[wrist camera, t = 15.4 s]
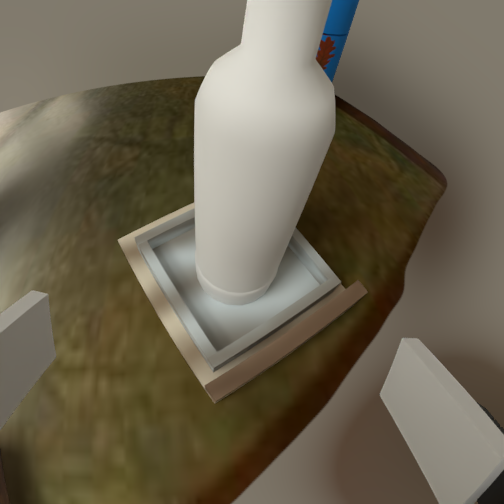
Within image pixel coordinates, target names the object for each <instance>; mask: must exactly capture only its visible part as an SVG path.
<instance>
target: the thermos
mask: <svg viewBox="0 0 504 504" xmlns="http://www.w3.org/2000/svg"><path fill="white" fill-rule="evenodd" d="M358 2H359V0H332V3H331V6H330V10H329V13H328V17H327V20H326V24H325V27H324V31H323V34H322V38H321V41H320V45H319V48H318V52H317V55H316V61H317V62H318V63H319V65H320V66H321V68H322V69H323V71H324V72H325V73H326V75H327V76H328V78H329V79H330V81H331V82H332V81H333V78H334V75H335V72H336V69H337V66H338V63H339V60H340V57H341V54H342V51H343V48H344V45H345V42H346V39H347V36H348V33H349V30H350V27H351V23H352V21H353V17H354V14H355V11H356V8H357V5H358Z"/></svg>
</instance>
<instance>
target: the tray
mask: <svg viewBox="0 0 504 504" xmlns="http://www.w3.org/2000/svg"><path fill="white" fill-rule="evenodd" d="M118 242H119V244H120V246H121V248H122V250H123V252H124V254H125V256H126V258H127V260H128V262H129V264H130V266H131V268H132V270H133V271H134V273H135V275H136V277H137V279H138V281H139V283H140V284H141V286H142V288H143V290H144V292H145V293H146V295H147V297H148V299H149V300H150V302H151V304H152V306H153V307H154V309H155V311H156V313H157V314H158V316H159V318H160V319H161V321H162V323H163V325H164V326H165V328H166V330H167V331H168V333H169V334H170V336H171V338H172V339H173V341H174V343H175V344H176V346H177V347H178V349H179V351H180V352H181V354H182V355H183V357H184V359H185V360H186V362H187V363H188V365H189V366H190V368H191V369H192V371H193V372H194V374H195V375H196V377H197V378H198V380H199V381H200V383H201V384H202V386H203V387H204V389H205V390H206V392H207V393H208V395H209V396H210V398H211V399H212V400H213V402H214V403H216V402H218V401H220V400H221V399H223V398H224V397H226V396H228V395H229V394H231V393H232V392H234V391H235V390H237V389H239V388H240V387H242V386H243V385H245V384H246V383H248V382H249V381H251V380H252V379H254V378H255V377H257V376H258V375H260V374H261V373H263V372H264V371H266V370H267V369H269V368H270V367H272V366H273V365H274V364H276V363H277V362H279V361H280V360H282V359H283V358H284V357H286V356H287V355H289V354H290V353H291V352H293V351H294V350H296V349H297V348H298V347H300V346H301V345H302V344H304V343H305V342H307V341H308V340H309V339H311V338H312V337H313V336H315V335H316V334H317V333H319V332H320V331H321V330H323V329H324V328H325V327H327V326H328V325H329V324H330V323H332V322H333V321H334V320H336V319H337V318H338V317H339V316H341V315H342V314H343V313H345V312H346V311H347V310H348V309H350V308H351V307H352V306H353V305H354V304H355V303H357V302H358V301H359V300H360V299H361V298H362V297H363V296H364V295H365V294H366V293H367V292H368V291H367V290H366V289H365V287H364V286H363V285H362V284H361V283H360V281H359V280H357V281H356V282H355V283H353V284H352V285H351V286H350V287H348V288H347V289H345V288H344V287H343V286H342V285H341V281H340V280H339V279H338V277H337V276H336V275H335V274H334V272H333V271H332V270H331V269H330V268H329V266H328V265H327V264H326V263H325V262H324V260H323V259H322V258H321V257H320V256H319V254H318V253H317V252H316V251H315V250H314V248H313V247H312V246H311V245H310V244H309V242H308V241H307V240H306V239H305V238H304V236H303V235H302V234H301V233H300V232H299V231H298V229H297V228H296V227H295V229H294V232H293V234H292V236H291V239H290V241H289V243H288V246H287V248H286V250H285V253H284V255H283V257H282V260H281V262H280V264H279V266H278V270H277V274H276V276H275V278H274V280H273V281H272V283H271V284H270V286H269V288H268V289H267V291H266V292H265V294H264V295H262V296H261V297H260V298H258V299H257V300H255V301H254V302H251V303H248V304H244V305H226V304H224V303H221V302H219V301H217V300H214V299H213V298H212V297H210V296H209V295H208V294H207V293H206V292H205V291H204V290H203V288H202V286H201V285H200V283H199V281H198V279H197V273H196V264H195V250H196V242H195V203H192V204H190V205H188V206H186V207H183V208H181V209H179V210H177V211H175V212H173V213H171V214H169V215H167V216H164V217H162V218H160V219H158V220H156V221H154V222H152V223H150V224H148V225H146V226H144V227H142V228H140V229H138V230H136V231H134V232H132V233H130V234H128V235H126V236H124V237H122V238H120V239H118Z"/></svg>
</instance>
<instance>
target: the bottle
mask: <svg viewBox="0 0 504 504" xmlns="http://www.w3.org/2000/svg"><path fill="white" fill-rule="evenodd" d="M331 3H332V0H247V7H246V13H245V20H244V27H243V34H242V41H241V44H240V45H239V46H237V47H236V48H234V49H232V50H231V51H229V52H228V53H226V54H225V55H223V56H222V57H220V58H218V59H217V60H216V61H215V62H214V63H213V64H212V66H211V67H210V69H209V71H208V72H207V75H206V76H205V78H204V80H203V82H202V84H201V86H200V89H199V91H198V94H197V96H196V99H195V118H194V203H195V242H196V250H195V264H196V273H197V279H198V281H199V283H200V285H201V286H202V288H203V290H204V291H205V292H206V293H207V294H208V295H209V296H210V297H212V298H213V299H214V300H217V301H219V302H221V303H224V304H226V305H244V304H248V303H251V302H254V301H255V300H257V299H258V298H260V297H261V296H262V295H264V294H265V292H266V291H267V289H268V288H269V286H270V284H271V283H272V281H273V280H274V278H275V276H276V274H277V270H278V266H279V264H280V262H281V260H282V257H283V255H284V253H285V250H286V248H287V246H288V243H289V241H290V239H291V236H292V234H293V232H294V229H295V227H296V225H297V222H298V220H299V218H300V215H301V213H302V211H303V208H304V206H305V204H306V201H307V199H308V196H309V194H310V192H311V189H312V187H313V184H314V182H315V180H316V177H317V175H318V172H319V170H320V167H321V165H322V163H323V160H324V158H325V155H326V153H327V150H328V148H329V145H330V143H331V140H332V138H333V135H334V133H335V92H334V86H333V84H332V82H331V81H330V79H329V78H328V76H327V75H326V73H325V72H324V71H323V69H322V68H321V66H320V65H319V63H318V62H317V61H316V55H317V52H318V48H319V45H320V41H321V38H322V34H323V31H324V27H325V24H326V20H327V17H328V13H329V10H330V6H331Z"/></svg>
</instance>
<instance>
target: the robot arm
mask: <svg viewBox="0 0 504 504" xmlns="http://www.w3.org/2000/svg"><path fill="white" fill-rule="evenodd" d="M55 358H56V353H55V347H54V340H53V334H52V326H51V318H50V310H49V300H48V294H46V293H42V292H37V291H33V290H32V291H30V292H29V293H28V294H26V295H25V296H23V297H22V298H21V299H19V300H18V301H17V302H15V303H14V304H13V305H11V306H10V307H9V308H7V309H6V310H5V311H3V312H2V313H1V314H0V430H1V429H2V427H3V426H4V424H5V423H6V422H7V420H8V419H9V418H10V416H11V415H12V413H13V412H14V411H15V409H16V408H17V407H18V405H19V404H20V403H21V401H22V400H23V399H24V397H25V396H26V395H27V393H28V392H29V391H30V389H31V388H32V387H33V385H34V384H35V383H36V382H37V380H38V379H39V378H40V377H41V375H42V374H43V373H44V371H45V370H46V369H47V368H48V366H49V365H50V364H51V363H52V361H53V360H54V359H55ZM380 397H381V398H382V400H383V402H384V404H385V405H386V407H387V409H388V411H389V412H390V414H391V416H392V418H393V419H394V421H395V423H396V425H397V427H398V428H399V430H400V432H401V433H402V436H403V437H404V439H405V441H406V443H407V445H408V446H409V448H410V450H411V452H412V453H413V455H414V457H415V459H416V461H417V463H418V464H419V466H420V468H421V470H422V472H423V474H424V476H425V478H426V479H427V481H428V483H429V485H430V487H431V489H432V491H433V493H434V495H435V497H436V498H437V500H438V502H439V504H474V503H475V502H476V501H477V502H478V504H504V429H503V428H502V427H500V424H499V423H498V422H497V421H496V420H494V418H493V416H492V415H491V414H490V413H489V412H488V410H487V409H486V408H484V407H483V406H481V405H480V404H479V403H477V402H476V401H475V400H474V399H473V398H472V397H471V396H470V395H469V394H468V392H467V391H466V390H465V389H464V388H463V387H462V386H461V385H460V383H459V382H458V381H457V380H456V379H455V378H454V377H453V376H452V375H451V373H450V372H449V371H448V370H447V369H446V368H445V367H444V366H443V365H442V364H441V362H440V361H439V360H438V359H437V358H436V357H435V356H434V355H433V354H432V353H431V352H430V351H429V350H428V349H427V348H426V346H425V345H424V344H423V343H422V342H421V341H420V340H419V339H418V338H402V340H401V342H400V346H399V348H398V350H397V353H396V356H395V358H394V361H393V364H392V366H391V368H390V371H389V373H388V376H387V378H386V380H385V383H384V385H383V388H382V390H381V392H380Z"/></svg>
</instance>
